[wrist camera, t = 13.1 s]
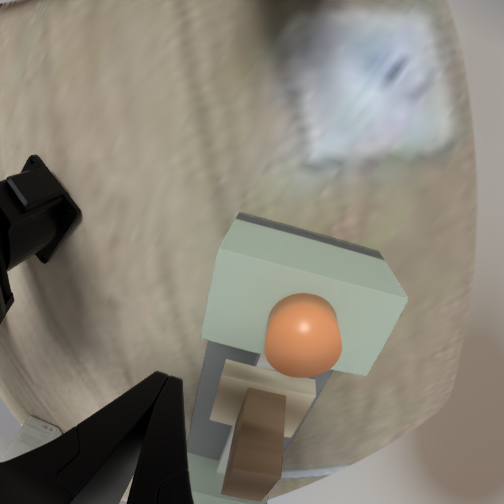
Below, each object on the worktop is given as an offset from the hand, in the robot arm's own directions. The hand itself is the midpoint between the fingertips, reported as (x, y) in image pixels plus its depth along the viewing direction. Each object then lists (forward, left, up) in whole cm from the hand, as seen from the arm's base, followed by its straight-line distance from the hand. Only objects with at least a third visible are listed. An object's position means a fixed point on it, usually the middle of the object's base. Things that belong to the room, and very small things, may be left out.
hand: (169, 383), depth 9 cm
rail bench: (-8, -11, -12) cm, 18 cm away
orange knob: (+2, -4, -8) cm, 9 cm away
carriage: (-5, -9, -9) cm, 13 cm away
